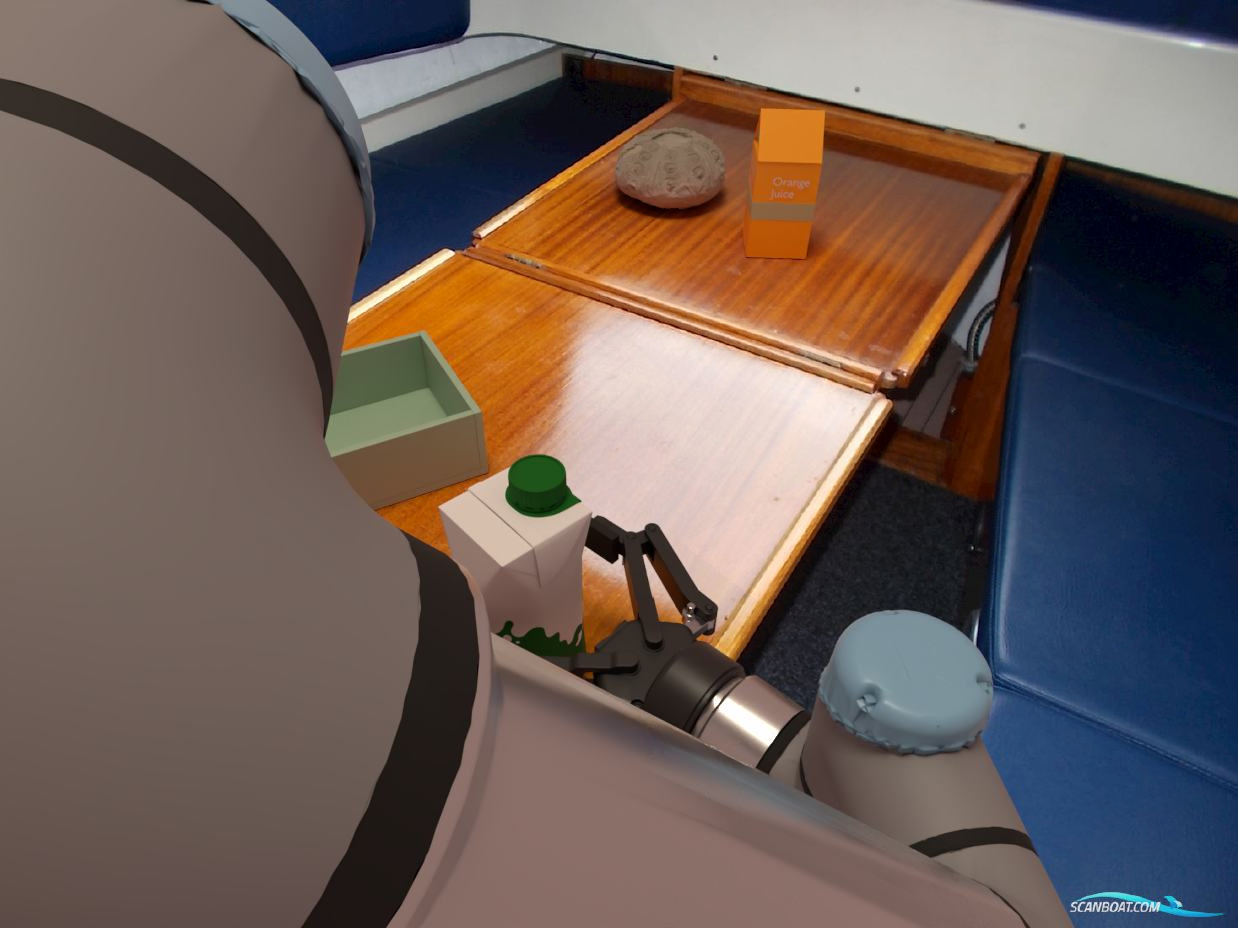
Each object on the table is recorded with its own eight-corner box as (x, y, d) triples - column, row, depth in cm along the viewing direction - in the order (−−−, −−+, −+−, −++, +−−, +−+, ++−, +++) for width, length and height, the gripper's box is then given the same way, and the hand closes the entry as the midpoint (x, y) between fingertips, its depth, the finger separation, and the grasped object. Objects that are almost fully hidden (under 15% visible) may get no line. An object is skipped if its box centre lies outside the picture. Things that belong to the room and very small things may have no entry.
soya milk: (603, 667, 71) (605, 489, 58) (515, 732, 66) (496, 555, 53) (537, 605, 76) (525, 428, 63) (451, 661, 71) (419, 483, 58)
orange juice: (741, 234, 131) (757, 98, 118) (799, 236, 131) (822, 100, 118) (745, 258, 125) (762, 119, 112) (806, 260, 125) (830, 121, 112)
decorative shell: (654, 231, 131) (657, 167, 125) (592, 190, 142) (592, 128, 136) (744, 205, 139) (752, 143, 132) (679, 167, 150) (683, 109, 143)
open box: (328, 526, 83) (309, 463, 78) (288, 430, 94) (270, 369, 88) (488, 472, 89) (481, 411, 84) (434, 388, 100) (424, 329, 95)
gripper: (585, 895, 50) (365, 688, 61) (811, 639, 65) (602, 507, 75) (583, 835, 45) (345, 621, 56) (829, 572, 60) (602, 441, 70)
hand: (492, 555), depth 66 cm, fingers open, 13 cm apart
